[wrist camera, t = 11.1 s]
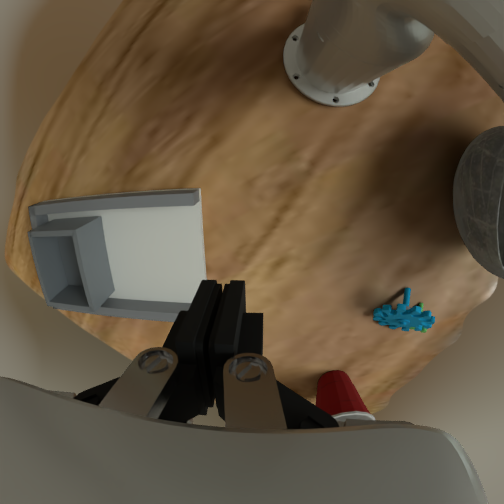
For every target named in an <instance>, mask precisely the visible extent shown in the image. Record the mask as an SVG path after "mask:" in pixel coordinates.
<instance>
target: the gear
mask: <svg viewBox="0 0 504 504" xmlns="http://www.w3.org/2000/svg"><path fill="white" fill-rule="evenodd" d="M410 292H411V289H410V288H405V291H404V299H403V304H397V309H396V310H392V309H391V307H392V306H391V305H383V308H382V309H381V308H376V309H374V313H373V315H374V317H373V320H375V321H379V322H378V324H380V325H389V327H388V328H391V329H396V328H398V327H402V330H403V331H409V329H414V330H415V331H421V332H426V331H427V329H428V328H431V326H432V324H434V322H435V317H434V316H431V312H430V311H423V303H419V306H413V307H412V308H410V307H409V301H410ZM422 311H423V312H422Z"/></svg>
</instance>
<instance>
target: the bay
mask: <svg viewBox="0 0 504 504" xmlns="http://www.w3.org/2000/svg"><path fill="white" fill-rule="evenodd" d="M28 208H29V214H30V220H31V226H32V229H34V228H37V227H39V226H41V225H43V224H45V223H47V222H49V221H51V220H53V219H63V218H77V217H93V216H101V217H102V224H103V231H104V237H105V243H106V249H107V254H108V260H109V265H110V270H111V274H112V279H113V284H114V288H115V291H114V292H113V293H112V294H111V295H110V296H109V298H108V299H107V300H106V301H105V302H104V303H103V304H102V305H101V306H100V308H99V309H98V310H97V311H96V312H87V311H80V310H72V309H65V308H59V307H53V308H55V309H61V310H68V311H75V312H82V313H89V314H97V315H105V316H114V317H123V318H133V319H144V320H155V321H168V322H175V320H176V318H177V316H178V314H179V312H180V311H181V310H185V311H188V310H189V307H190V305H191V303H192V301H193V298H194V296H195V294H196V292H197V290H198V287H199V285H200V283H201V281H202V280H207V278H206V266H205V253H204V238H203V223H202V206H201V188H191V189H169V190H151V191H136V192H123V193H111V194H100V195H90V196H80V197H71V198H63V199H55V200H47V201H42V202H39V203H37V204H34V205H32V206H29V207H28Z"/></svg>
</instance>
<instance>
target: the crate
mask: <svg viewBox="0 0 504 504" xmlns="http://www.w3.org/2000/svg"><path fill="white" fill-rule="evenodd" d="M28 237H29V241H30V246H31V250H32V255H33V259H34V263H35V266H36V270H37V274H38V277H39V281H40V284H41V288H42V291H43V294H44V297H45V300H46V303H47V306H52V307H59V308H65V309H72V310H80V311H87V312H96V311H97V310H98V309H99V308H100V306H101V305H102V304H103V303H104V302H105V301H106V300H107V299H108V298H109V296H110V295H111V294H112V293H113V292H114V291H115V288H114V284H113V279H112V274H111V270H110V265H109V260H108V254H107V249H106V243H105V237H104V231H103V224H102V217H101V216H93V217H77V218H63V219H53V220H51V221H49V222H47V223H45V224H43V225H41V226H39V227H37V228H34V229H32V230H30V231H29V232H28Z"/></svg>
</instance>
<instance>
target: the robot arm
mask: <svg viewBox="0 0 504 504" xmlns="http://www.w3.org/2000/svg"><path fill="white" fill-rule="evenodd" d="M434 33H435V34H436V35H438V36H439V37H440V38H441V39H442V40H443V41H444V42H446V43H447V44H449V45H450V46H451V47H453V48H454V49H455V50H456V51H457V52H458V53H459V54H460V55H461V56H462V57H463V58H464V59H465V60H466V61H467V62H468V63H469V64H470V65H471V66H472V67H473V68H474V69H475V70H476V71H477V72H478V73H479V74H480V75H481V77H482V78H483V79H484V80H485V81H486V82H487V83H488V84H489V86H490V87H491V88H492V89H493V90H494V91H495V93H496V94H497V95H498V96H499V97H500V98H501V100H502V101H503V102H504V0H313V1H312V4H311V7H310V10H309V13H308V16H307V19H306V23H304V24H302V25H301V26H299V27H297V28H296V29H295V30H294V31H293V32H292V33H291V34H290V36H289V37H288V39H287V41H286V44H285V47H284V52H283V63H284V67H285V71H286V73H287V75H288V77H289V79H290V81H291V82H292V83H293V85H294V86H295V87H296V88H297V89H298V90H299V91H300V92H301V93H302V94H303V95H305V96H306V97H308V98H309V99H311V100H313V101H315V102H317V103H320V104H323V105H327V106H333V107H346V106H350V105H354V104H356V103H359V102H361V101H363V100H364V99H366V98H367V97H368V96H370V95H371V94H372V93H373V91H374V90H375V89H376V87H377V85H378V82H379V79H380V77H381V76H383V75H385V74H387V73H389V72H390V71H392V70H394V69H396V68H398V67H400V66H402V65H404V64H406V63H408V62H410V61H412V60H414V59H416V58H417V57H418V56H420V55H421V54H422V53H423V52H425V50H426V49H427V48H428V47H429V45H430V43H431V41H432V39H433V36H434ZM293 39H296V40H297V41H293ZM295 76H296V77H298V79H297V80H296V79H294V77H295ZM368 83H369V84H370V85H371V86H369V85H368ZM333 99H335V100H336V102H333ZM262 354H263V313H246V300H245V281H239V280H231V281H230V284H225V286H224V289H223V293H222V284H217V281H216V280H202V281H201V283H200V285H199V287H198V290H197V292H196V294H195V296H194V298H193V301H192V303H191V305H190V307H189V310H188V311H185V310H181V311H180V312H179V314H178V316H177V318H176V320H175V322H174V324H173V326H172V328H171V330H170V332H169V334H168V336H167V338H166V341H165V343H164V345H163V347H154V348H149V349H146V350H144V351H142V352H141V353H139V354H138V355H137V356H136V357H135V359H134V360H133V361H132V363H131V364H130V365H129V366H128V368H127V369H126V370H125V371H124V373H123V374H122V375H121V377H119V378H116V379H113V380H111V381H108V382H106V383H103V384H101V385H98V386H96V387H93V388H90V389H88V390H86V391H83V392H81V393H79V394H78V395H77V396H76V394H75V393H71V392H59V391H50V390H45V389H42V388H39V387H37V386H34V385H31V384H28V383H25V382H22V381H18V380H15V379H11V378H6V377H0V504H489V503H488V500H487V497H486V494H485V491H484V489H483V486H482V484H481V481H480V479H479V476H478V474H477V472H476V470H475V468H474V465H473V463H472V461H471V460H470V458H469V456H468V455H467V453H466V451H465V450H464V448H463V447H462V445H461V444H460V443H459V442H458V441H457V440H456V438H454V437H453V436H452V435H450V434H449V433H447V432H445V431H443V430H440V429H436V428H432V427H427V426H420V425H414V424H412V423H410V422H405V421H378V420H360V419H347V418H346V421H345V422H343V421H336V419H335V418H333V417H332V416H331V415H330V414H328V413H327V412H325V411H323V410H322V409H320V408H318V407H317V406H315V405H314V404H312V403H311V402H309V401H307V400H306V399H304V398H303V397H301V396H300V395H298V394H297V393H295V392H293V391H292V390H290V389H289V388H287V387H286V386H284V385H283V384H281V383H280V382H279V381H277V380H276V379H275V374H274V370H273V366H272V364H271V362H270V361H269V360H268V359H267V358H266V357H264V356H262ZM214 400H216V406H217V408H218V413H219V416H220V417H221V418H222V419H223V420H224V421H225V427H215V426H204V425H195V424H193V418H194V417H195V416H197V415H206V414H207V409H208V407H213V405H214Z"/></svg>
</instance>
